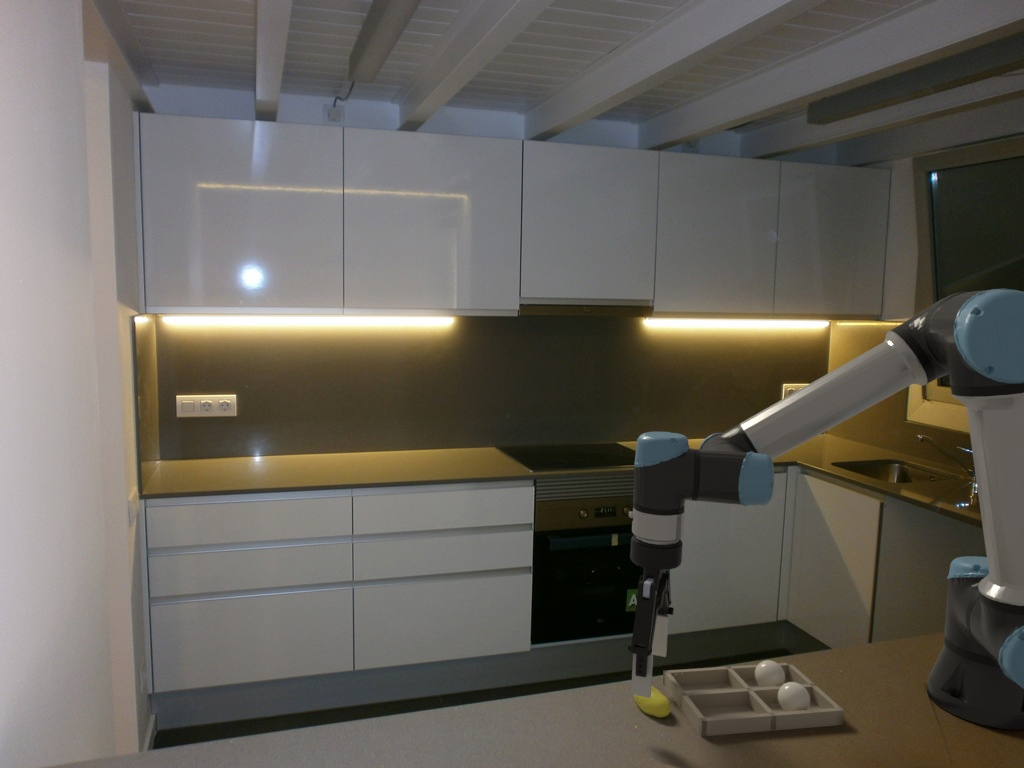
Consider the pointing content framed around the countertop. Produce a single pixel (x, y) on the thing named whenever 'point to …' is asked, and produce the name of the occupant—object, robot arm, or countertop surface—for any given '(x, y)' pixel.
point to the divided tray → (745, 701)
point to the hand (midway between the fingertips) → (649, 673)
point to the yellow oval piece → (654, 704)
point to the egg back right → (769, 674)
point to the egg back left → (793, 697)
